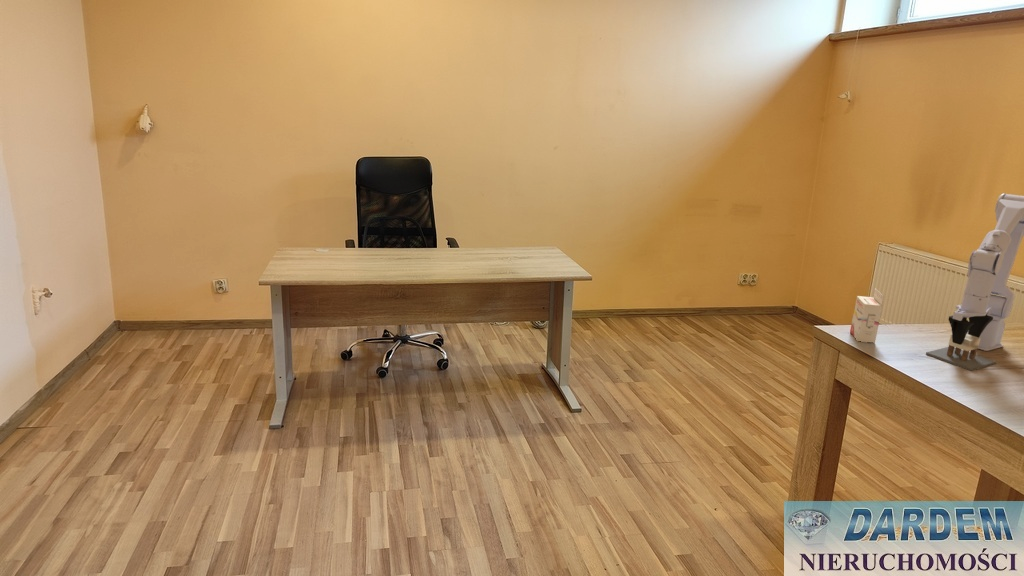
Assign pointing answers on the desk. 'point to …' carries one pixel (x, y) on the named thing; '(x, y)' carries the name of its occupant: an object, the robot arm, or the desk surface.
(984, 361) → the mat
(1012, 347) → the desk surface
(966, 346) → the stool
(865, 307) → the ink cartridge box
